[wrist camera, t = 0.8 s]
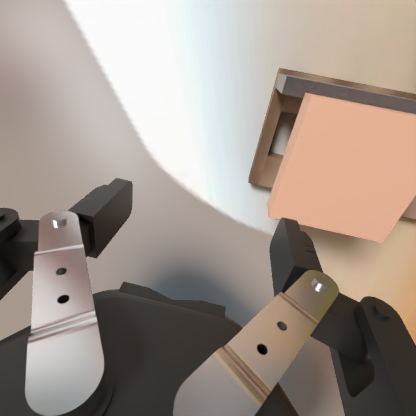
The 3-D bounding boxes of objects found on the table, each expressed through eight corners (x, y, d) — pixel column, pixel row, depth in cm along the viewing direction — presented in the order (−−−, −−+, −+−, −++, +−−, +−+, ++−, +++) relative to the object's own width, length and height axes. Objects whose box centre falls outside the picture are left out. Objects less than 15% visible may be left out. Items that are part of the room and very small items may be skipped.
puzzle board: (514, 113, 29) (620, 133, 20) (432, 217, 36) (484, 262, 28) (279, 68, 30) (288, 69, 22) (248, 177, 38) (247, 209, 30)
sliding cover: (439, 119, 22) (464, 126, 19) (370, 226, 28) (382, 242, 25) (305, 92, 22) (311, 96, 20) (267, 203, 29) (268, 217, 26)
